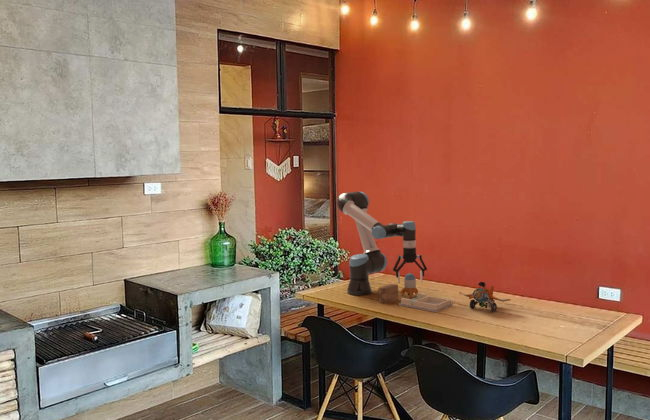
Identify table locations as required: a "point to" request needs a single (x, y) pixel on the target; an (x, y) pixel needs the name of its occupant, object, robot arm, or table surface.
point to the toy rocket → (409, 285)
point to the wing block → (388, 293)
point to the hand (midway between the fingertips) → (410, 282)
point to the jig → (426, 303)
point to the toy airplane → (483, 297)
